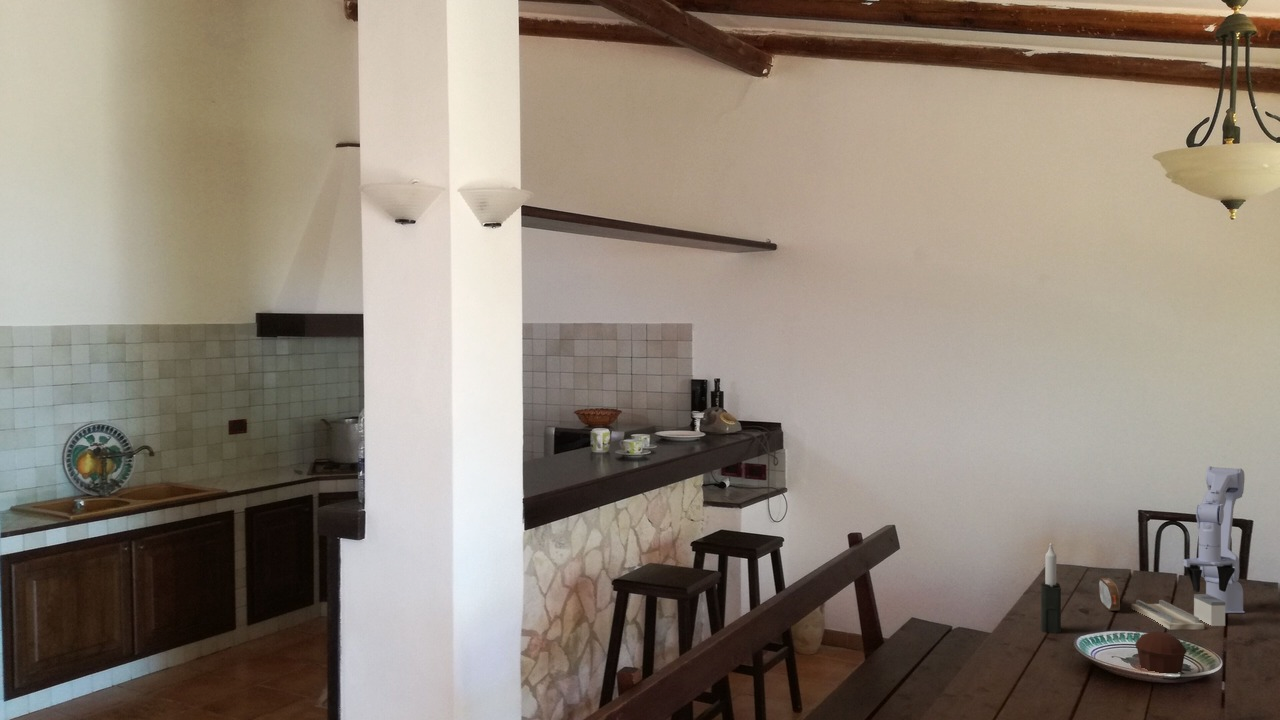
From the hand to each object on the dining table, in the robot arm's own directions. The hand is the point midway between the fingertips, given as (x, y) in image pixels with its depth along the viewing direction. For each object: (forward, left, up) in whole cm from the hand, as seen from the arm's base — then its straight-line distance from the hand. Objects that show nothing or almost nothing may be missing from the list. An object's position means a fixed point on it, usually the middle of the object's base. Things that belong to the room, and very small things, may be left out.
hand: (1209, 590), depth 292 cm
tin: (+22, -16, -9) cm, 29 cm away
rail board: (+11, -3, -9) cm, 15 cm away
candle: (+50, +8, -9) cm, 51 cm away
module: (0, 0, -9) cm, 9 cm away
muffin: (+38, +45, -9) cm, 60 cm away
